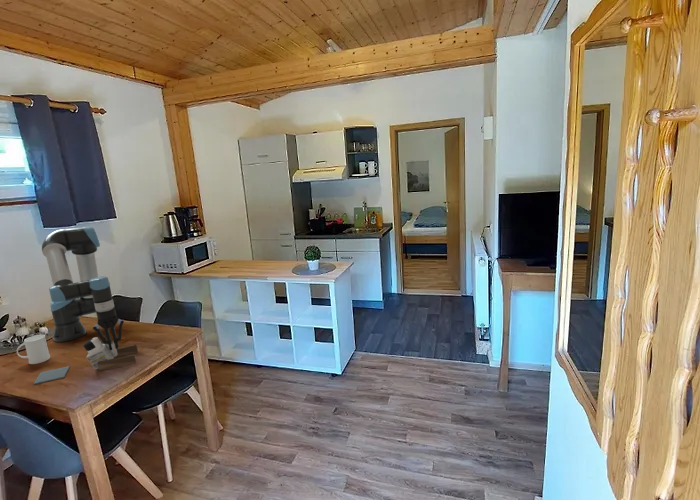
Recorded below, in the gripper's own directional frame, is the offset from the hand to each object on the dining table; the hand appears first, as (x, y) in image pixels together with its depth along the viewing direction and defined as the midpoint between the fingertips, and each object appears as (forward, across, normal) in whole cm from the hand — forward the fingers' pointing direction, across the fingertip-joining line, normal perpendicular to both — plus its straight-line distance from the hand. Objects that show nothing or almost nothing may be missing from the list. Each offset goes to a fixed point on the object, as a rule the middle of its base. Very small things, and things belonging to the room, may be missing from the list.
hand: (115, 355), depth 180 cm
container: (+2, -4, -1) cm, 5 cm away
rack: (+3, +1, +1) cm, 3 cm away
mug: (+2, -37, +24) cm, 45 cm away
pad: (+3, -26, +1) cm, 26 cm away
